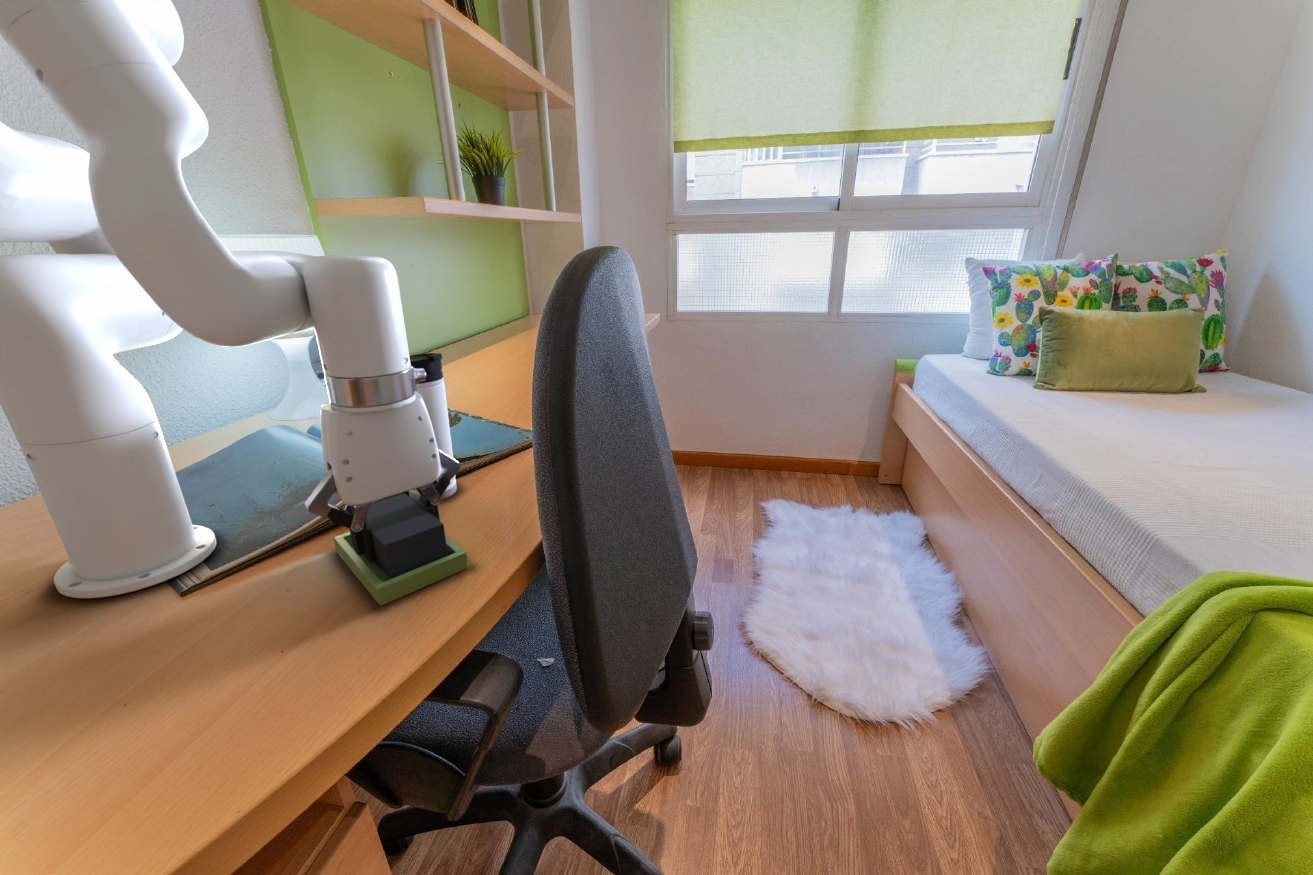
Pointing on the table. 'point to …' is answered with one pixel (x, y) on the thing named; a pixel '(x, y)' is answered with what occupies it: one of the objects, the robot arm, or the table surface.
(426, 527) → the dark gray block
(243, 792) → the table surface
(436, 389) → the travel mug
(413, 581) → the frame
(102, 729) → the table surface
